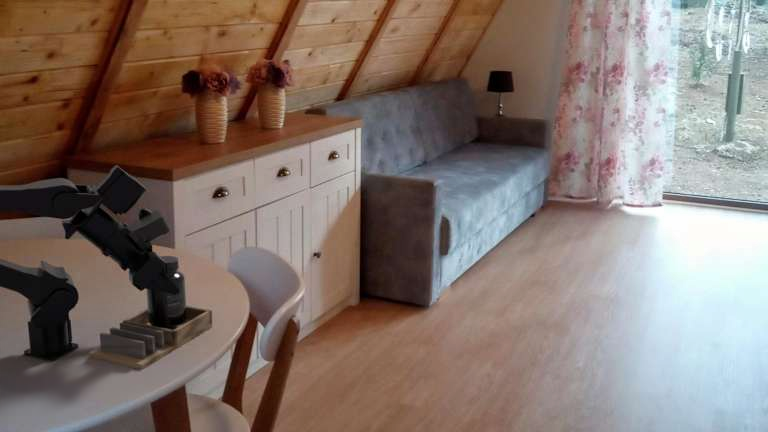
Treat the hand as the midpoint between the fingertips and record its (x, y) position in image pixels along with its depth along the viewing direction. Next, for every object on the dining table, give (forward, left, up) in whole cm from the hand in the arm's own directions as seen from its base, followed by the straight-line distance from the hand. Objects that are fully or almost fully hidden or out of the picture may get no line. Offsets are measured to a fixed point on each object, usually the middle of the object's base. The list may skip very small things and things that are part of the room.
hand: (173, 286), depth 151 cm
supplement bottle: (-1, +1, -7) cm, 7 cm away
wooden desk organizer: (-5, +1, -9) cm, 10 cm away
